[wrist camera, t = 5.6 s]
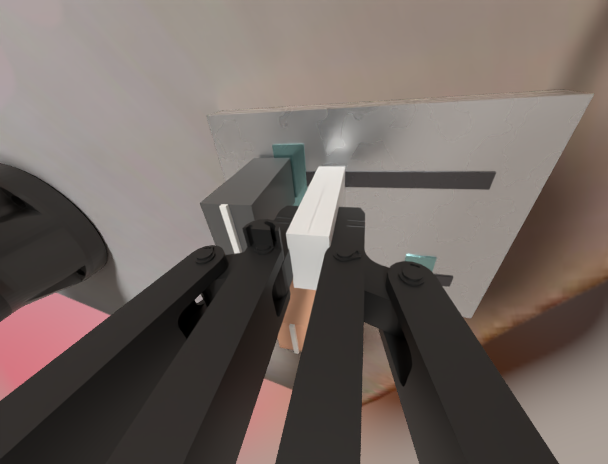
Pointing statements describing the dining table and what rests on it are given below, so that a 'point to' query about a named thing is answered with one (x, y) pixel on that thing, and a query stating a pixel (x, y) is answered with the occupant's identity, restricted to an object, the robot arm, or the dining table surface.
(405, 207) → the console
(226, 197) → the fader black
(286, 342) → the block
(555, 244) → the dining table surface
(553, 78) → the dining table surface
